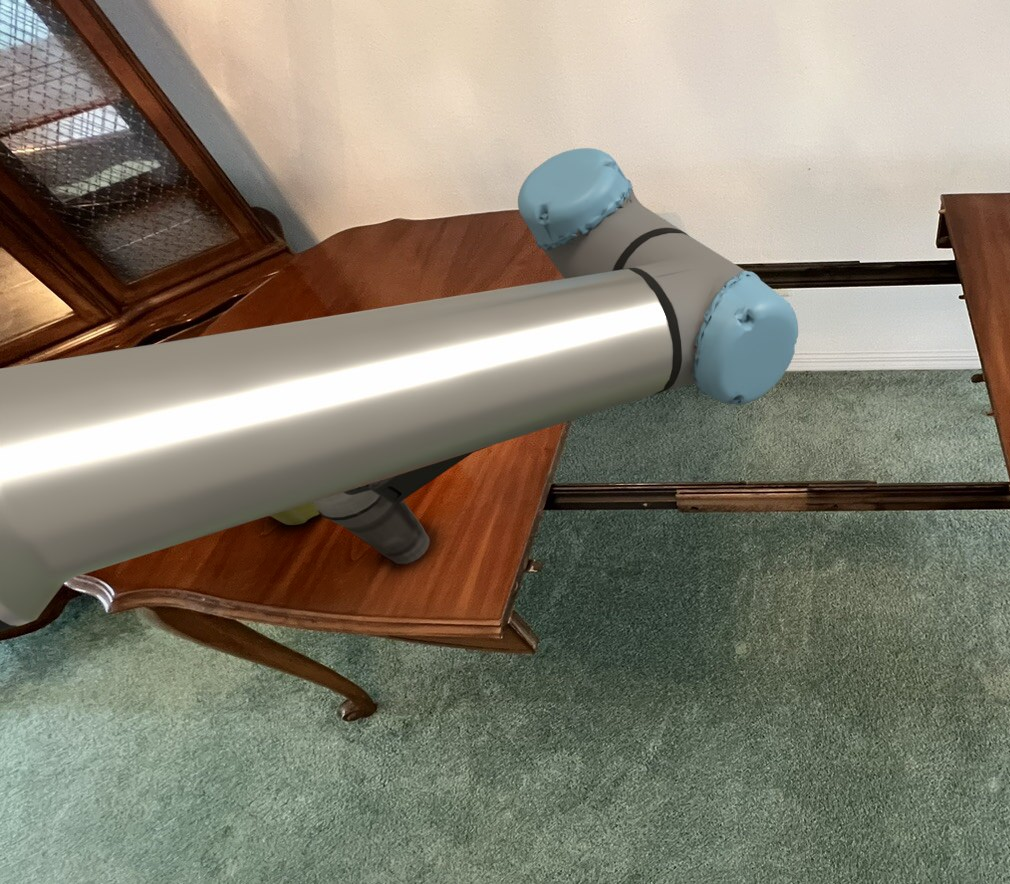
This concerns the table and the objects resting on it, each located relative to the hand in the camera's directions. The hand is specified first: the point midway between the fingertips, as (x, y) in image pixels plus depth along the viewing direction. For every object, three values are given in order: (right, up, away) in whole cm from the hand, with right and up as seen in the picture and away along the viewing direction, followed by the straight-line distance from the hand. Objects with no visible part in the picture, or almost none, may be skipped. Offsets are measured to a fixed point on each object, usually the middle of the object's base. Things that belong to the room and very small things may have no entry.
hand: (327, 424), depth 60 cm
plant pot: (-20, -10, +24) cm, 32 cm away
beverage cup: (-4, -14, +19) cm, 24 cm away
